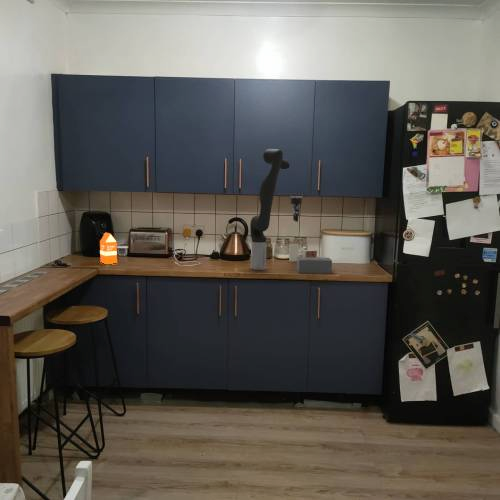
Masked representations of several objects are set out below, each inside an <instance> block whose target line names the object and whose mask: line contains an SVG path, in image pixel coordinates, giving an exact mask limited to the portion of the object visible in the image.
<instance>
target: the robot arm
mask: <svg viewBox="0 0 500 500" xmlns="http://www.w3.org/2000/svg"><path fill="white" fill-rule="evenodd" d="M262 157H263V161H264V162H265V163H266V164H267V165H271V168H270V170H269V172H268V174H267V175H266V176H265V177H264V179H263V180H262V182H261V183H260V187H259V192H258V193H259V195H258V198H259V203H260V211H259V214H258V215H254V216H253V217H251V219H250V224H249V227H250V229H249V230H250V231H249V232H250V238H251V253H250V254H251V256H250V257H251V259H250V260H251V261H250V269H251V270H254V271H255V270H256V271H262V270H266V269H267V237H266V235H265V234H264V232H265V231H267V230H268V229H269V226H270V223H271V212H272V206H273V200H274V195H275V192H276V187H277V181H278V178H279V172H280V170H282V169H287V168H289V166H290V165H289V163H288V162H287V161H286V160H287V159H285V158H284V153H283V151H282V150H281V149H277V148H268V149H266V150H264V151H263V155H262ZM284 159H285V160H284ZM290 204H291V205H292V214H293V218H292V219H293V221H294V222H297V223H298V222H299V216H300V206H299V205H302V204H303V195H302V196H291V195H290Z"/></svg>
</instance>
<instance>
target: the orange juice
mask: <svg viewBox="0 0 500 500" xmlns="http://www.w3.org/2000/svg"><path fill="white" fill-rule="evenodd" d="M117 247H118V245H117V240H116V239H115V238H114V236H113V235H112V234H111V233H109V232H105V233H104V234H103V235H102V238H101V239H100V240H99V248H100V249H99V254H100V263H101V262H102V263H104V264H112V265H114V264H113V263H117V264H118V251H117V250H118V249H117ZM102 263H101V264H102ZM104 264H103V265H104Z"/></svg>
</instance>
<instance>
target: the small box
mask: <svg viewBox="0 0 500 500" xmlns="http://www.w3.org/2000/svg"><path fill="white" fill-rule="evenodd" d="M302 257H311V258H318V251H317V250H316V249H303V250H302Z"/></svg>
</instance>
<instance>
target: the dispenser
mask: <svg viewBox="0 0 500 500" xmlns="http://www.w3.org/2000/svg"><path fill="white" fill-rule="evenodd" d="M332 267H333V260H332V259H331V258H330V257H317V258H311V257H303V256H302V257H299V256H298V257H297V262H296V271H297V272H298V273H299V274H332V272H333V271H332V269H333V268H332Z"/></svg>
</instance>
